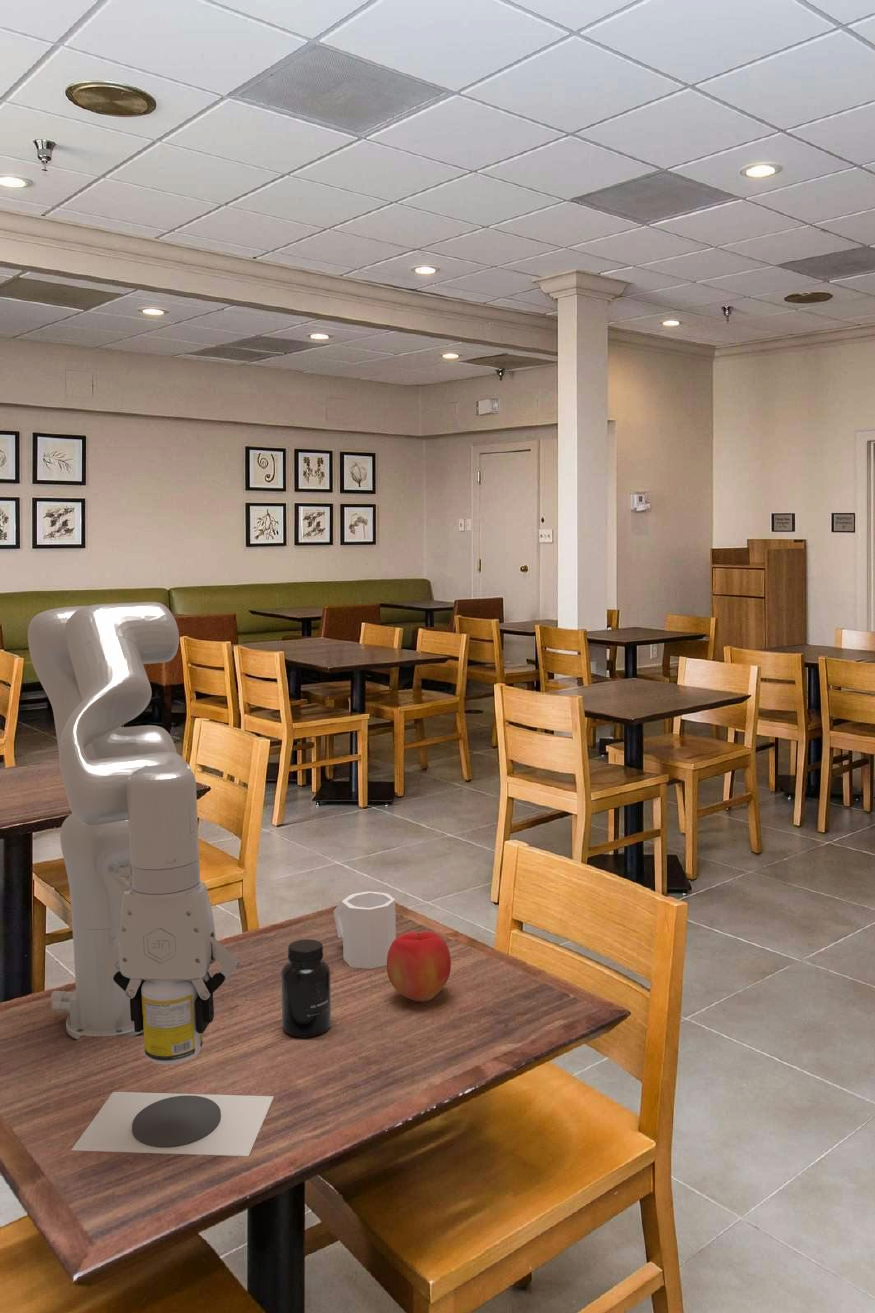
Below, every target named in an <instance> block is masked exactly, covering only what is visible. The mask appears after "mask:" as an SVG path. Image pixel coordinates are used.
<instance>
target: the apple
mask: <svg viewBox="0 0 875 1313" xmlns="http://www.w3.org/2000/svg"><path fill="white" fill-rule="evenodd" d="M451 962H452V961H451V954H450V950H449V947H448V944H447V942H446V941H445V939H444V937H442V936H441V935H440V934H438V933H436V932H434V931H408V932H405V933H402V934H400V935H399V936H396V939H395V940H394V941H393V942H392V944H391V946H390V948H389V951H388V955H387V965H386V972H387V976H388V979H389V982H390V984H391V985H392V987H393V988H394V989H395V990H396V991H397V992H398V993H399V994H400V995H402V996H404V997H405V998H406V999H409V1000H412V1001H414V1002H420V1003H421V1002H422V1003H423V1002H428V1001H430V1000H432V999H433V998H434V997H435V996H436V995H437V994H439V992H440V991H441V990H442V989H443V988H444V987H445V986H446V984H447V982H448V980H449V977H450V973H451V969H452V968H451V967H452V966H451V965H452V963H451Z"/></svg>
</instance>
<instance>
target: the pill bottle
mask: <svg viewBox="0 0 875 1313" xmlns="http://www.w3.org/2000/svg"><path fill="white" fill-rule="evenodd" d="M141 993H142V1012H143V1029H144V1032H143V1043H144V1054H145V1057H146V1058H147V1060H149V1061H150V1062H152V1063H154V1064H158V1065H176V1064H180V1063H184V1062H188V1061H189V1060H191V1059H193V1058H194V1057H196V1056H197V1055H198V1054H199V1053H200V1052H201V1050H202V1047H203V1041H204V1040H203V1033H198V1032H196V1016H195V1000H196V999H197V997H198V992H197V990H196V988H195V986H194V984H193V982H192V980H189V981H178V980H145V981H144V982H143V984H142V988H141Z"/></svg>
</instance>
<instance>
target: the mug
mask: <svg viewBox="0 0 875 1313" xmlns="http://www.w3.org/2000/svg"><path fill="white" fill-rule="evenodd" d="M333 917H334V918H333V919H334V922H335V927H336V932H337V938H338V939H341V938H342V945H343V946H342V949H343V950H342V952H343V953H342V954H343V961H345V963H347V965H348V966H349V967H351V968H357V969H365V970H366V969H367V970H368V969H369V970H372V969H377V968H381V967H385V966H386V967H387V955H388V951H389V948H390V946H391V944H392V942H393V941H394V940H395V939H396V938H397V929H396V928H397V926H396V899H395V898H394V897H392V896H391V895H390V894H389V893H388V892H387V893H386V892H378V891H363V892H358V893H352V894H350V895H348V896H347V897H346V898H344V899H341V901H340V902H339V903H338V905H337V906H336V907H335V908H334V910H333Z"/></svg>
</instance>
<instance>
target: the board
mask: <svg viewBox="0 0 875 1313" xmlns="http://www.w3.org/2000/svg"><path fill="white" fill-rule="evenodd" d="M185 1095H191V1096H200V1097H205V1098H208V1099H210V1100H212V1101H214V1102H215V1103H216V1104H217V1105H218V1106H219V1108H220V1110H221V1120H220V1123H219V1125H218V1126H217V1127H216V1129H215V1130H214V1131H213V1132H212V1133H210V1134H209V1135H207V1136H206V1137H204V1138H202V1139H200V1140H198V1141H196V1142H193V1143H190V1144H187V1145H183V1146H178V1147H169V1148H161V1147H153V1146H148V1145H145V1144H143V1143H141V1142H139V1141H138V1140H137V1139H136V1138H135V1137H134V1135H133V1132H132V1123H133V1120H134V1118H135V1117H136V1115H137V1114H138V1113H139V1112H140V1111H141V1110H143V1109H144V1108H145V1107H147V1106H149V1105H151V1104H152V1103H155V1102H157V1101H160V1100H163V1099H166V1098H170V1097H175V1096H185ZM274 1097H275V1096H274V1095H271V1096H270V1095H269V1096H268V1095H240V1094H239V1095H238V1094H236V1095H235V1094H234V1095H233V1094H232V1095H231V1094H207V1093H206V1094H205V1093H202V1094H201V1093H200V1094H199V1093H169V1092H167V1093H166V1092H165V1093H164V1092H161V1093H160V1092H137V1091H136V1092H135V1091H134V1092H132V1091H130V1092H129V1091H113V1092H112V1093H111V1094H110V1095H109V1097H108V1098H107V1100H106V1101H105V1102H104V1104H102V1107H100V1109H99V1111H98V1112H97V1113H96V1115H95V1117H93V1120H91V1122H90V1123H89V1125H88V1126H87V1127H86V1128H85V1130H84V1132H83V1133H82V1134H81V1136H80V1137H79V1138H78V1140H77V1141H76V1143H75V1144H74V1146H73V1147H72V1149H71V1151H75V1152H77V1151H78V1152H80V1151H81V1152H100V1153H101V1152H102V1153H103V1152H104V1153H105V1152H106V1153H107V1152H108V1153H133V1154H134V1153H135V1154H136V1153H137V1154H163V1155H164V1154H166V1155H167V1154H169V1155H195V1156H197V1155H198V1156H199V1155H200V1156H222V1157H223V1156H225V1157H226V1156H230V1157H233V1156H234V1157H249V1156H250V1153H251V1151H252V1149H253V1146H254V1144H255V1142H256V1140H257V1137H258V1135H259V1133H260V1130H261V1128H262V1125H263V1123H264V1121H265V1118H266V1116H267V1114H268V1111H269V1110H270V1107H271V1105H272V1103H273V1100H274Z"/></svg>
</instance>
